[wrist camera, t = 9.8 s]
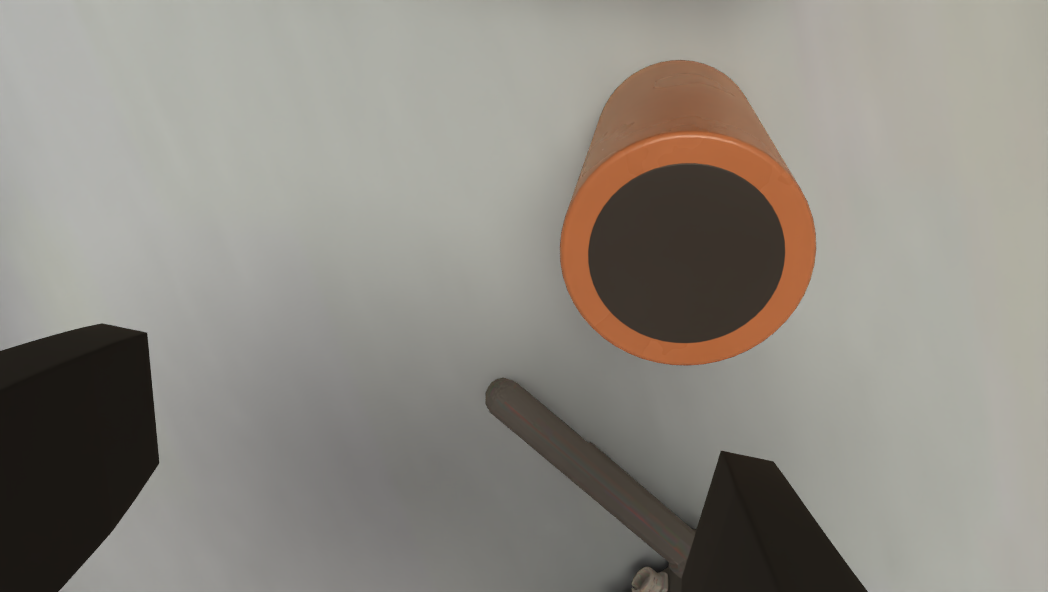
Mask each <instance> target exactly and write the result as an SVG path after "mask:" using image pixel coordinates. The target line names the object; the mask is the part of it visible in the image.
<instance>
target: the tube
mask: <svg viewBox="0 0 1048 592" xmlns="http://www.w3.org/2000/svg"><path fill="white" fill-rule="evenodd" d="M815 255H816V232H815V227H814V221H813V217H812V214H811V211H810V208H809V205H808V202H807V200H806V198H805V196H804V195H803V193H802V191H801V189H800V187H799V185H798V184H797V182H796V180H795V179H794V177H793V175H792V174H791V172H790V170H789V169H788V167H787V165H786V164H785V162H784V160H783V159H782V157H781V155H780V154H779V152H778V150H777V149H776V147H775V145H774V144H773V142H772V140H771V139H770V137H769V135H768V134H767V132H766V130H765V129H764V127H763V125H762V124H761V122H760V120H759V119H758V117H757V115H756V114H755V112H754V110H753V109H752V107H751V105H750V104H749V102H748V100H747V99H746V97H745V95H744V94H743V93H742V91H741V90H740V88H739V87H738V86H737V85H736V84H735V83H734V82H733V81H732V80H731V79H730V78H729V77H727V76H726V75H725V74H723V73H722V72H720V71H718V70H717V69H715V68H713V67H710V66H708V65H705V64H702V63H698V62H694V61H685V60H672V61H666V62H660V63H657V64H653V65H650V66H648V67H646V68H644V69H641V70H639V71H638V72H636V73H635V74H633V75H631V76H630V77H629V78H628V79H626V80H625V81H624V82H623V83H622V84H621V85H620V86H619V87H618V88H617V89H616V90H615V91H614V92H613V94H612V95H611V97H610V98H609V99H608V101H607V103H606V105H605V107H604V109H603V111H602V114H601V116H600V119H599V122H598V124H597V127H596V130H595V133H594V136H593V139H592V142H591V145H590V147H589V150H588V153H587V156H586V159H585V162H584V165H583V167H582V170H581V173H580V176H579V179H578V182H577V185H576V187H575V190H574V193H573V196H572V199H571V202H570V205H569V207H568V210H567V213H566V216H565V220H564V224H563V228H562V232H561V241H560V262H561V268H562V274H563V278H564V281H565V284H566V287H567V290H568V292H569V295H570V297H571V299H572V301H573V303H574V305H575V306H576V308H577V309H578V311H579V312H580V314H581V315H582V317H583V318H584V319H585V320H586V321H587V322H588V324H589V325H590V326H591V327H592V328H593V329H594V330H595V331H596V332H598V333H599V334H600V335H601V336H602V337H603V338H604V339H606V340H607V341H609V342H610V343H612V344H613V345H614V346H616V347H618V348H620V349H622V350H623V351H625V352H627V353H629V354H632V355H634V356H637V357H639V358H642V359H646V360H649V361H653V362H657V363H663V364H670V365H699V364H707V363H712V362H717V361H721V360H724V359H727V358H731V357H734V356H736V355H738V354H741V353H743V352H745V351H747V350H749V349H751V348H753V347H754V346H756V345H758V344H759V343H761V342H763V341H764V340H765V339H767V338H768V337H769V336H770V335H772V334H773V333H774V332H775V331H776V330H777V329H778V328H779V327H780V326H781V325H782V324H783V323H785V322H786V320H787V319H788V318H789V317H790V315H791V314H792V313H793V311H794V310H795V309H796V307H797V306H798V304H799V302H800V301H801V299H802V297H803V296H804V294H805V291H806V289H807V287H808V284H809V282H810V279H811V275H812V272H813V268H814V263H815Z"/></svg>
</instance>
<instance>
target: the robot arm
mask: <svg viewBox="0 0 1048 592" xmlns="http://www.w3.org/2000/svg"><path fill="white" fill-rule="evenodd" d="M158 464H159V454H158V444H157V433H156V422H155V412H154V401H153V390H152V380H151V369H150V359H149V348H148V337H147V333H146V332H141V331H136V330H131V329H127V328H122V327H117V326H112V325H107V324H97V325H93V326H88V327H83V328H79V329H75V330H71V331H67V332H63V333H60V334H56V335H52V336H49V337H45V338H42V339H38V340H35V341H32V342H28V343H25V344H22V345H18V346H15V347H12V348H9V349H5V350H2V351H0V592H59V590H60V589H61V588H62V587H63V586H64V585H65V584H66V583H67V582H68V580H69V579H70V578H71V577H72V576H73V575H74V574H75V573H76V572H77V570H78V569H79V568H80V567H81V566H82V565H83V564H84V563H85V561H86V560H87V559H88V558H89V557H90V556H91V555H92V554H93V553H94V551H95V550H96V549H97V548H98V547H99V546H100V545H101V543H102V542H103V541H104V540H105V539H106V538H107V537H108V535H109V534H110V533H111V532H112V531H113V530H114V528H115V527H116V525H117V524H118V523H119V521H120V520H121V518H122V517H123V516H124V514H125V513H126V512H127V510H128V509H129V507H130V506H131V505H132V503H133V502H134V500H135V499H136V497H137V496H138V494H139V493H140V491H141V490H142V488H143V487H144V485H145V484H146V482H147V481H148V479H149V478H150V476H151V475H152V473H153V472H154V470H155V469H156V467H157V466H158ZM681 592H868V591H867V590H866V589H865V587H864V586H863V585H862V583H861V582H860V581H859V579H858V578H857V577H856V575H855V574H854V573H853V571H852V570H851V569H850V567H849V566H848V565H847V563H846V562H845V561H844V559H843V558H842V557H841V555H840V554H839V552H838V551H837V550H836V548H835V547H834V546H833V544H832V543H831V541H830V540H829V539H828V537H827V536H826V534H825V533H824V532H823V530H822V529H821V527H820V526H819V525H818V523H817V522H816V520H815V519H814V518H813V516H812V515H811V513H810V512H809V511H808V509H807V508H806V506H805V505H804V504H803V502H802V501H801V499H800V498H799V496H798V495H797V494H796V492H795V491H794V489H793V488H792V486H791V485H790V484H789V482H788V481H787V479H786V478H785V477H784V475H783V474H782V472H781V471H780V470H779V468H778V467H777V466H776V464H775V463H774V462H773V461H768V460H764V459H759V458H754V457H749V456H744V455H739V454H734V453H730V452H725V451H721V453H720V456H719V459H718V462H717V466H716V469H715V472H714V475H713V478H712V482H711V485H710V488H709V491H708V495H707V498H706V501H705V504H704V507H703V511H702V514H701V517H700V520H699V524H698V527H697V530H696V533H695V536H694V540H693V543H692V546H691V549H690V553H689V556H688V559H687V562H686V565H685V569H684V572H683V575H682V579H681Z"/></svg>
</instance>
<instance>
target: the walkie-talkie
mask: <svg viewBox="0 0 1048 592" xmlns="http://www.w3.org/2000/svg"><path fill="white" fill-rule="evenodd" d="M486 406H487V408H488V409H489V411H490V412H491V413H492V414H493V415H494V416H495V417H496V418H498V419H499V420H500V421H501V422H502V423H504V424H505V425H506V426H507V427H508V428H510V429H511V430H512V431H513V432H514V433H516V434H517V435H518V436H519V437H520V438H522V439H523V440H524V441H525V442H526V443H527V444H529V445H530V446H531V447H532V448H533V449H535V450H536V451H537V452H538V453H539V454H541V455H542V456H543V457H544V458H545V459H547V460H548V461H549V462H550V463H551V464H553V465H554V466H555V467H556V468H557V469H558V470H560V471H561V472H562V473H563V474H564V475H566V476H567V477H568V478H569V479H570V480H572V481H573V482H574V483H575V484H576V485H578V486H579V487H580V488H581V489H582V490H584V491H585V492H586V493H587V494H588V495H589V496H591V497H592V498H593V499H594V500H595V501H597V502H598V503H599V504H600V505H601V506H603V507H604V508H605V509H606V510H607V511H609V512H610V513H611V514H612V515H613V516H615V517H616V518H617V519H618V520H619V521H620V522H622V523H623V524H624V525H625V526H626V527H628V528H629V529H630V530H631V531H632V532H634V533H635V534H636V535H637V536H638V537H640V538H641V539H642V540H643V541H644V542H646V543H647V544H648V545H649V546H650V547H652V548H653V549H654V550H655V551H656V552H657V553H659V554H660V555H661V556H662V557H663V558H665V559H666V560H667V561H668V562H669V567H668V568H666V569H665V570H663V571H662V572H659V573H656V572H655V571H654V570H653V569H652V568H650V567H644V568H642V569H641V570H639V571H638V573H637V574H636V575H635V577H634V579H633V581H632V585H633V586H634V587H635V588H636V589H634V588H632V592H681V579H682V575H683V572H684V569H685V565H686V562H687V559H688V556H689V553H690V549H691V546H692V543H693V540H694V536H695V533H696V530H697V529H693V530H692V529H691V528H690V527H689V526H688V525H687V524H685V523H684V522H683V521H682V520H681V519H680V518H678V517H677V516H676V515H675V514H674V513H673V512H671V511H670V510H669V509H668V508H667V507H666V506H665V505H663V504H662V503H661V502H660V501H659V500H658V499H656V498H655V497H654V496H653V495H652V494H651V493H649V492H648V491H647V490H646V489H645V488H644V487H642V486H641V485H640V484H639V483H638V482H637V481H635V480H634V479H633V478H632V477H631V476H630V475H628V474H627V473H626V472H625V471H624V470H623V469H621V468H620V467H619V466H618V465H617V464H616V463H615V462H613V461H612V460H611V459H610V458H609V457H608V456H606V455H605V454H604V453H603V452H602V451H601V450H599V449H598V448H597V447H596V446H595V445H594V444H592V443H591V442H590V443H588V442H587V441H585V440H584V439H583V438H582V437H581V436H579V435H578V434H577V433H576V432H575V431H573V430H572V429H571V428H570V427H569V426H568V425H566V424H565V423H564V422H563V421H562V420H560V419H559V418H558V417H557V416H556V415H554V414H553V413H552V412H551V411H550V410H549V409H547V408H546V407H545V406H544V405H543V404H541V403H540V402H539V401H538V400H537V399H535V398H534V397H533V396H532V395H531V394H530V393H528V392H527V391H526V390H525V389H524V388H522V387H521V386H520V385H519V384H518V383H516V382H514V381H513V380H509V379H506V378H500V379H496V380H495V381H493V382H492V383H491V384H490V386H489V387H488V389H487V391H486Z"/></svg>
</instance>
